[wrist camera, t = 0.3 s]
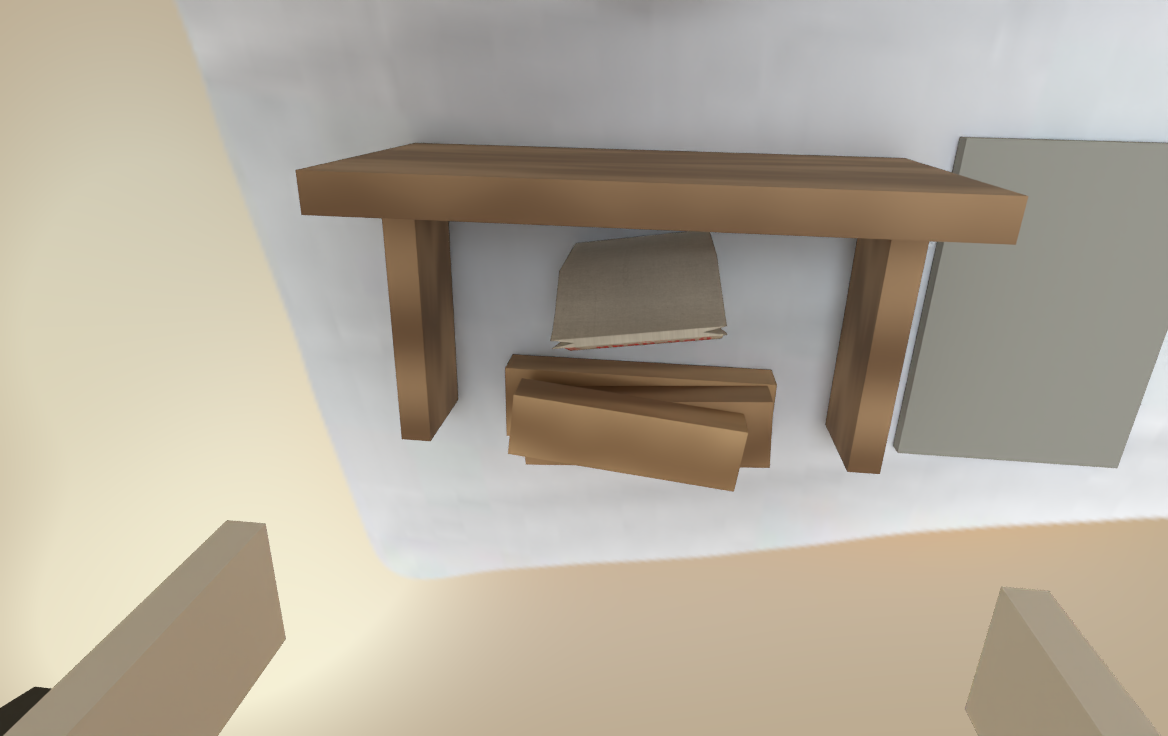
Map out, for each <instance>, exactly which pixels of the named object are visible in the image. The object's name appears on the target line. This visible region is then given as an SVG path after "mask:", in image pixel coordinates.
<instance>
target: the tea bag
mask: <svg viewBox="0 0 1168 736" xmlns="http://www.w3.org/2000/svg"><path fill="white" fill-rule="evenodd" d="M725 326H727V324H726V318H725V311H724V304H723V297H722V290H721V282H720V274H719V267H718V259H717V254H716V251H715V247H714V244H713V241H712V237H711V234H710V232H698V231H688V232H678V233H668V234H659V235H649V236H639V237H630V238H620V239H610V240H601V241H591V242H581V243H576V244H575V245H574V247H573V249H572V250H571V252H570V254H569V256H568V257H567V259H566V261H565V262H564V264H563V266H562V268H561V269H560V271H559V279H558V289H557V299H556V309H555V317H554V324H553V331H552V336H551V340H550V341H559V342H560V343H558V344H557V345H556V346H555V347H554V348H552V349H559V348H566V349H568V350H570V351H572V350H585V349H597V348H609V347H622V346H634V345H647V344H659V343H672V342H684V341H697V340H709V339H721V338H722V337H723V335H727V333H726V332H725V331H723V330H722V329H721V327H725Z"/></svg>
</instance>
